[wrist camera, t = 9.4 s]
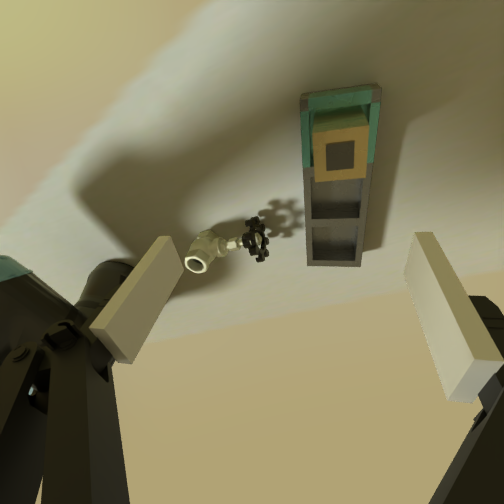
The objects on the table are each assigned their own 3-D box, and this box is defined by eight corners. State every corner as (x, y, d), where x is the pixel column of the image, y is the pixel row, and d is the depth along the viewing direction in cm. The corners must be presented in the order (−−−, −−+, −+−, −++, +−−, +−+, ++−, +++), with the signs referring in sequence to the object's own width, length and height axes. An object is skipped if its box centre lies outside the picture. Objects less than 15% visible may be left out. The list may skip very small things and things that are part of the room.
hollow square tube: (316, 154, 32) (314, 183, 26) (314, 112, 29) (312, 133, 23) (358, 149, 31) (366, 178, 25) (360, 104, 28) (369, 125, 22)
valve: (208, 255, 47) (272, 242, 43) (195, 282, 42) (265, 270, 38) (189, 225, 44) (256, 207, 39) (172, 250, 39) (246, 233, 34)
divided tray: (308, 253, 42) (307, 266, 40) (301, 93, 29) (299, 99, 27) (358, 253, 40) (360, 267, 38) (377, 83, 27) (382, 88, 25)
